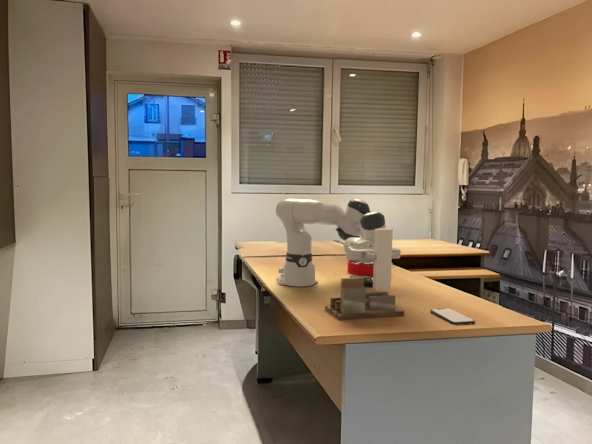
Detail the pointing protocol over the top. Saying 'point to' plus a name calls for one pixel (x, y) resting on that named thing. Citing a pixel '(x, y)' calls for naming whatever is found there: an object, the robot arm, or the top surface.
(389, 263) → the cream rectangular board
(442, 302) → the top surface
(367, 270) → the toy clock
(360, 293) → the block
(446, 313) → the smartphone
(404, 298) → the top surface
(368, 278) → the disk drive
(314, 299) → the top surface
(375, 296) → the rack
